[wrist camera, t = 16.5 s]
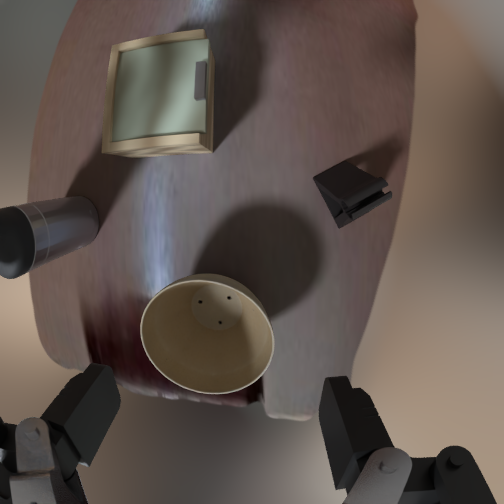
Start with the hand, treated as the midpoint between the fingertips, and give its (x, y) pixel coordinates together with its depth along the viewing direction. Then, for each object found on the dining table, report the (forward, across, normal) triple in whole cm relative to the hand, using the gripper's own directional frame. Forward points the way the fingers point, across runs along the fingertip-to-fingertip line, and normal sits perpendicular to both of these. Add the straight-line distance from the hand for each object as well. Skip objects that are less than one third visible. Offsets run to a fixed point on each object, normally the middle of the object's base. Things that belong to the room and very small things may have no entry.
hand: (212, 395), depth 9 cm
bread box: (+36, +11, -20) cm, 43 cm away
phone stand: (+36, -15, -6) cm, 40 cm away
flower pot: (+36, +5, +13) cm, 39 cm away
